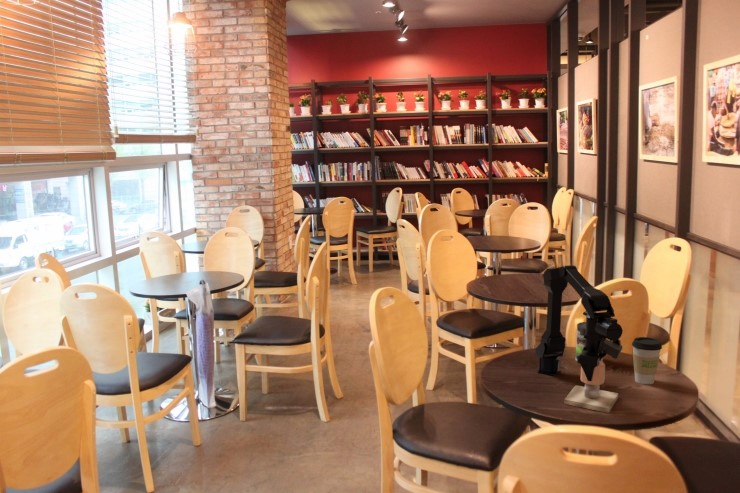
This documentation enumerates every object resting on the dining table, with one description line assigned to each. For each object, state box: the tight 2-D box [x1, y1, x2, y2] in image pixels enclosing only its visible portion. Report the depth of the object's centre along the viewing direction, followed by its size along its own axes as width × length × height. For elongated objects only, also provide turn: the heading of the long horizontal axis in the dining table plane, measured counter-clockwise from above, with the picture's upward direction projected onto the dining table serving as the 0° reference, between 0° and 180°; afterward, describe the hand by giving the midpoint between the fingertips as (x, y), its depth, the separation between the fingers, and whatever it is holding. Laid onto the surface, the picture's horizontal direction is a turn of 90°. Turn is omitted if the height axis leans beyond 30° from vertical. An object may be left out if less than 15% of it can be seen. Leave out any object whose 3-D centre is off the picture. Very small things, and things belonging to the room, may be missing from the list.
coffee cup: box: [631, 336, 663, 385], centre depth 227 cm, size 10×10×15 cm
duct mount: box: [563, 383, 619, 414], centre depth 212 cm, size 14×14×6 cm
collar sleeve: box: [579, 361, 606, 386], centre depth 211 cm, size 7×7×6 cm
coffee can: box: [574, 321, 604, 363], centre depth 249 cm, size 10×10×14 cm
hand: (592, 377), depth 211 cm, fingers closed on collar sleeve, 7 cm apart
